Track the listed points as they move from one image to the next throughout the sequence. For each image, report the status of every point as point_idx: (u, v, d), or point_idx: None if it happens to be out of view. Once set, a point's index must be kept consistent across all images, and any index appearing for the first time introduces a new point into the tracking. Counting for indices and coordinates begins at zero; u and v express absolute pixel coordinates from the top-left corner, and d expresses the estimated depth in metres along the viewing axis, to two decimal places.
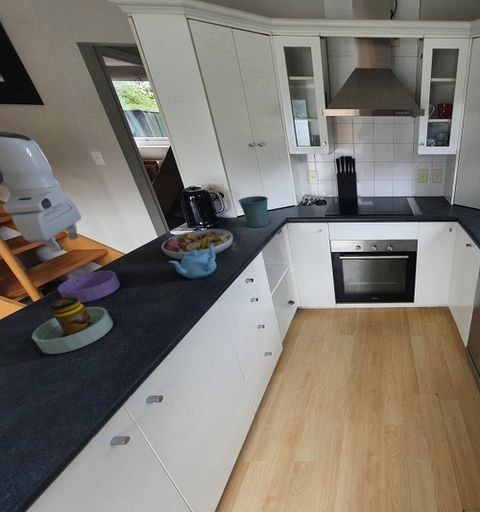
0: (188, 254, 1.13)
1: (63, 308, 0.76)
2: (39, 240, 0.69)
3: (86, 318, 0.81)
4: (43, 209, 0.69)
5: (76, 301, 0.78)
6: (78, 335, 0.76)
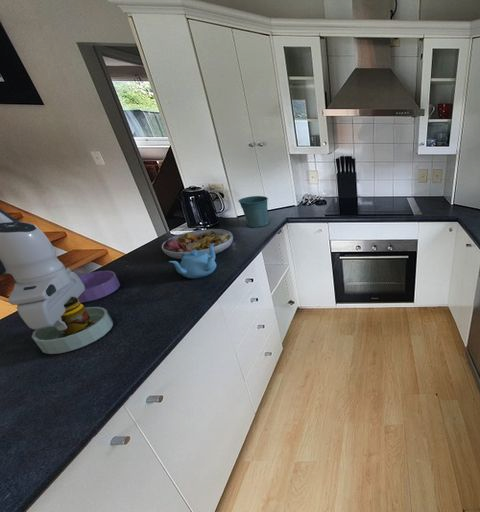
0: (188, 254, 1.13)
1: None
2: (44, 327, 0.70)
3: (86, 318, 0.81)
4: (48, 297, 0.69)
5: (76, 301, 0.78)
6: (78, 335, 0.76)
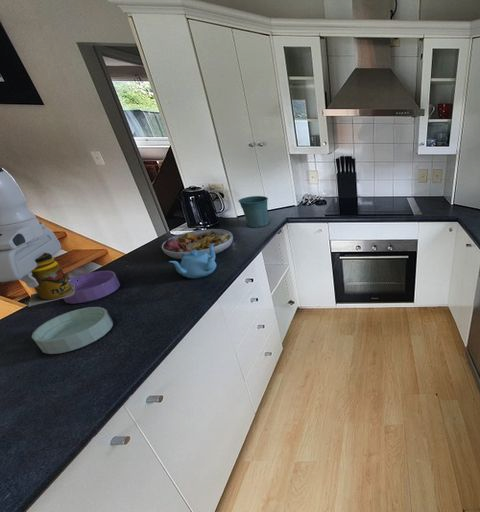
0: (188, 254, 1.13)
1: None
2: (10, 280, 0.64)
3: (61, 277, 0.75)
4: (15, 246, 0.63)
5: (50, 257, 0.72)
6: (78, 335, 0.76)
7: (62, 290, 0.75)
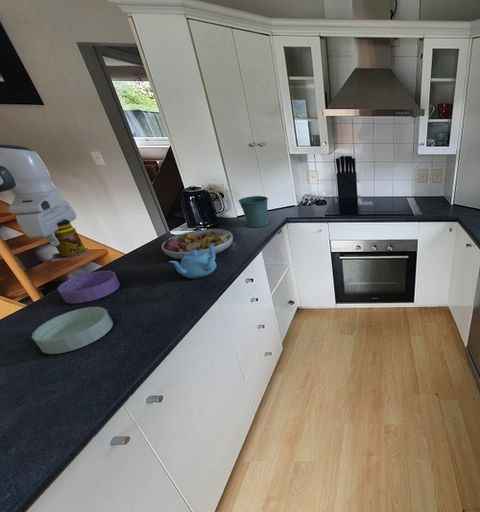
0: (188, 254, 1.13)
1: None
2: (39, 236, 0.81)
3: (77, 240, 0.92)
4: (42, 210, 0.81)
5: (68, 222, 0.90)
6: (78, 335, 0.76)
7: (78, 250, 0.93)
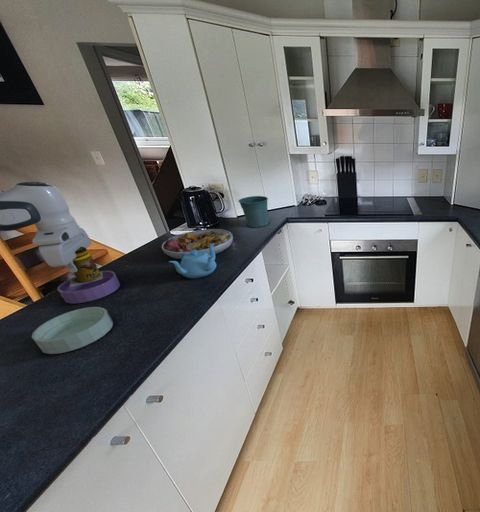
0: (188, 254, 1.13)
1: None
2: (59, 266, 0.88)
3: (93, 265, 0.99)
4: (63, 241, 0.87)
5: (85, 250, 0.96)
6: (78, 335, 0.76)
7: (94, 275, 0.99)
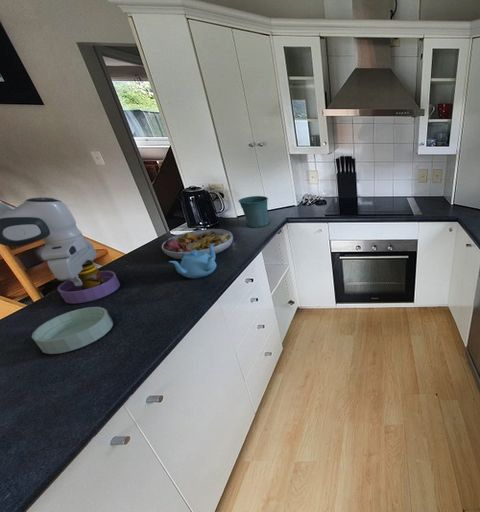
0: (188, 254, 1.13)
1: None
2: (67, 279, 0.90)
3: (99, 278, 1.01)
4: (70, 255, 0.89)
5: (91, 263, 0.99)
6: (78, 335, 0.76)
7: None
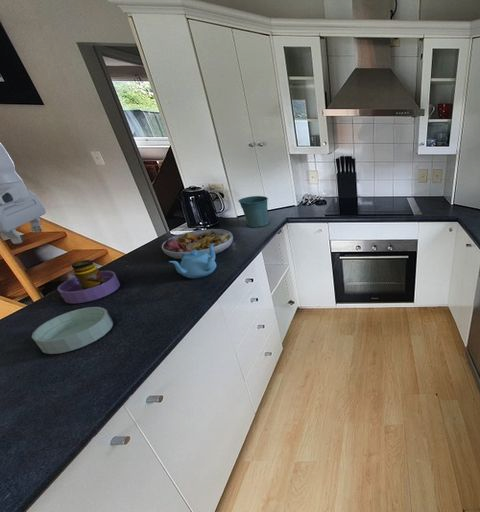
0: (188, 254, 1.13)
1: (81, 268, 0.96)
2: None
3: (99, 278, 1.01)
4: (4, 203, 0.74)
5: (91, 263, 0.99)
6: (78, 335, 0.76)
7: None
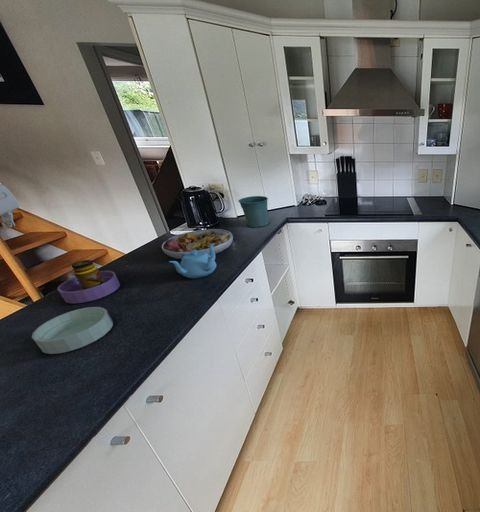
0: (188, 254, 1.13)
1: (81, 268, 0.96)
2: None
3: (99, 278, 1.01)
4: None
5: (91, 263, 0.99)
6: (78, 335, 0.76)
7: None
